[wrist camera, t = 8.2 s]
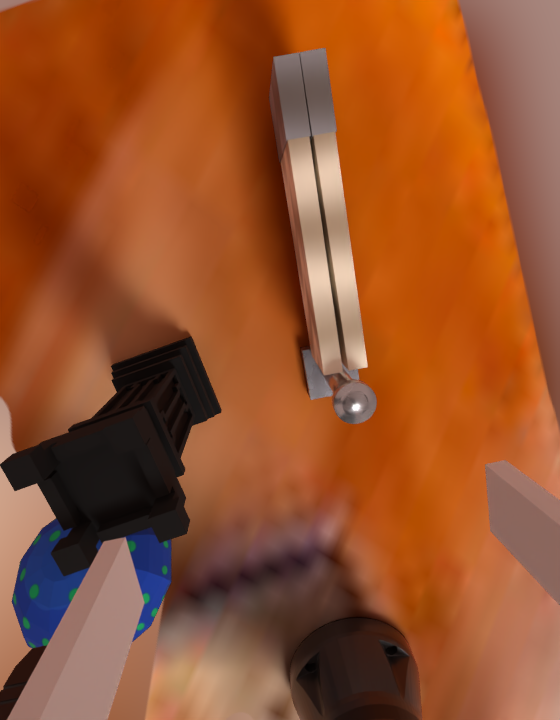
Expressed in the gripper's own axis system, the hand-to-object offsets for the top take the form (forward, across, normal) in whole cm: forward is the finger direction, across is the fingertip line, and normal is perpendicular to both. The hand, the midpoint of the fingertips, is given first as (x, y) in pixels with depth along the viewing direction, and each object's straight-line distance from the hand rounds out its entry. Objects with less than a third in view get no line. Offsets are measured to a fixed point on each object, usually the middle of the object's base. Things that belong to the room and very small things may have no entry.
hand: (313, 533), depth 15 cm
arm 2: (+25, -5, -12) cm, 28 cm away
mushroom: (+28, +19, +15) cm, 37 cm away
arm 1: (+25, -6, -12) cm, 28 cm away
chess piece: (+28, +10, 0) cm, 30 cm away
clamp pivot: (+27, -6, +1) cm, 28 cm away
